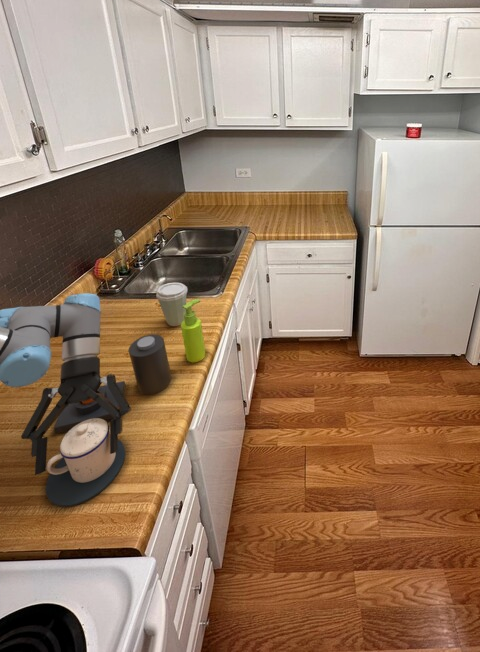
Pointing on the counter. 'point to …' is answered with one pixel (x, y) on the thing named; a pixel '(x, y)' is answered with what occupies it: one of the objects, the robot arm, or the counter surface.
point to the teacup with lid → (85, 451)
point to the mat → (72, 493)
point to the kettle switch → (88, 401)
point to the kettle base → (86, 410)
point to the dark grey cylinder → (150, 364)
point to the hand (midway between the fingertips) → (78, 462)
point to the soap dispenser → (192, 334)
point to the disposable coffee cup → (172, 302)
